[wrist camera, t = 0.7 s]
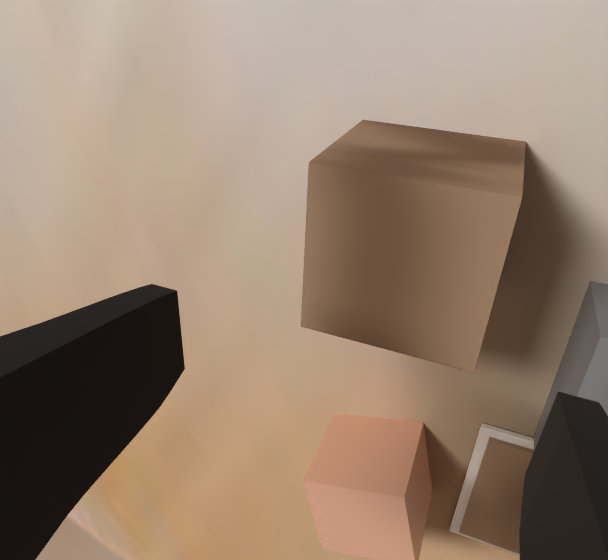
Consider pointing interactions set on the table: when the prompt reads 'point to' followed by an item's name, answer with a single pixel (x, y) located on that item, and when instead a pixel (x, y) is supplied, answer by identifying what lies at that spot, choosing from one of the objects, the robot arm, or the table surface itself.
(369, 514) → the terracotta cube
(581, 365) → the plinth
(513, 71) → the table surface
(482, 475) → the swatch
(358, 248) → the walnut cube
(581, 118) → the table surface
